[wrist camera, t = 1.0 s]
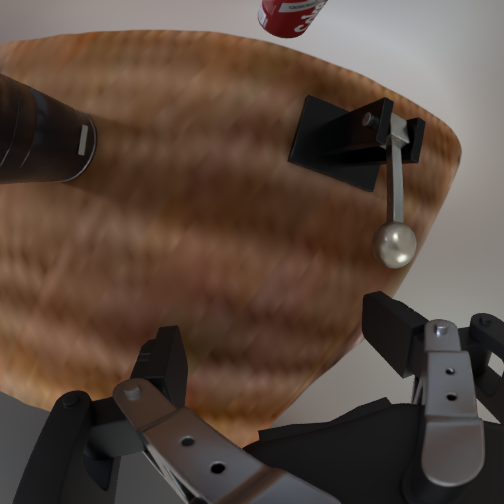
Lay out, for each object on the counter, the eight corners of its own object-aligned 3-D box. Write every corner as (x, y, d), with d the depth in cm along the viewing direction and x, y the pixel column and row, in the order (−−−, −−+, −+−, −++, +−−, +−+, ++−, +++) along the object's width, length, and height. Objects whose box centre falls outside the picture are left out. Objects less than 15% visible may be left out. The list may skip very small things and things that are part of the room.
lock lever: (394, 275, 22) (424, 268, 18) (360, 265, 21) (390, 257, 18) (394, 137, 25) (415, 120, 22) (366, 123, 25) (386, 103, 21)
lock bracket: (368, 191, 36) (437, 200, 23) (287, 161, 34) (333, 150, 21) (383, 132, 35) (451, 118, 22) (305, 97, 32) (355, 58, 19)
